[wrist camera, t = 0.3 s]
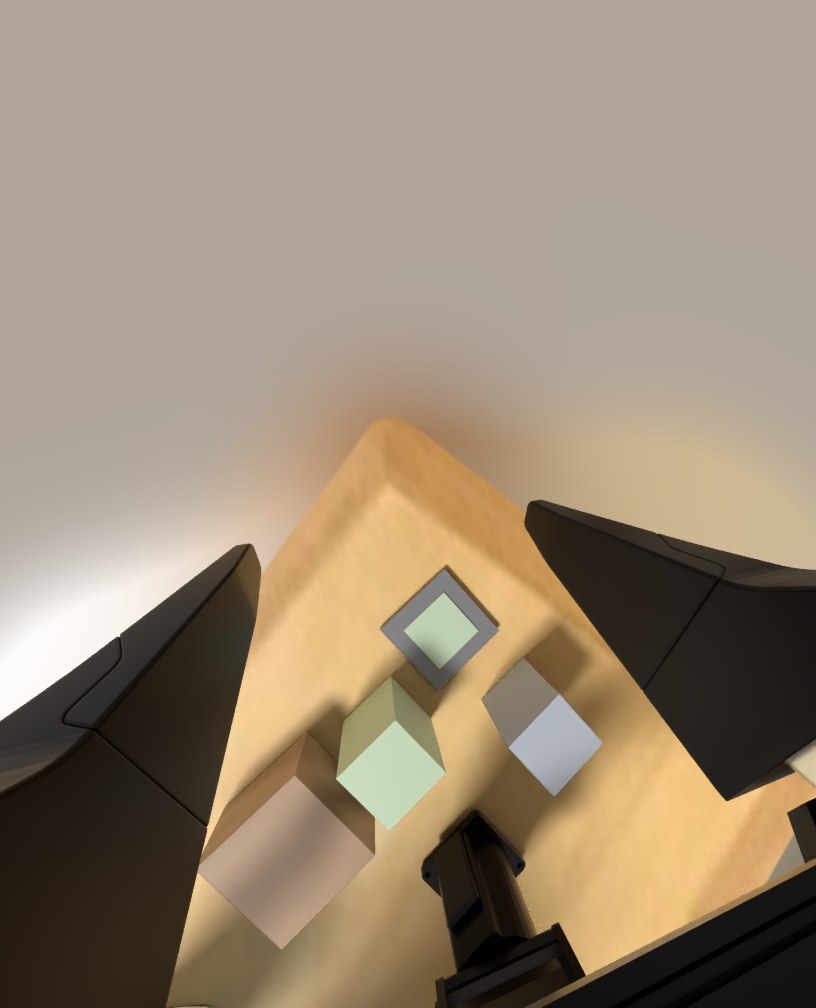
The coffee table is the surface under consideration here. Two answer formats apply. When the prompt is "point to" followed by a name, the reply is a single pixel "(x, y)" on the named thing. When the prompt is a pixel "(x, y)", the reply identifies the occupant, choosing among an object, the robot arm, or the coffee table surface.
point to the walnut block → (289, 842)
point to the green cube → (389, 754)
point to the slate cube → (540, 726)
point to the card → (439, 629)
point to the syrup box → (193, 1007)
